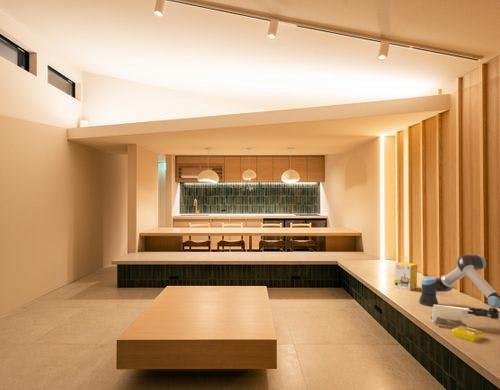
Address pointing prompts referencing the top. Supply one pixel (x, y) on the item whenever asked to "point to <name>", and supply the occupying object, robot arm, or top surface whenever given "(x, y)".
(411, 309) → the top surface
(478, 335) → the element tile
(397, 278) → the packaging box
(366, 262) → the top surface
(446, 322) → the hinge board
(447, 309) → the shelf bracket
